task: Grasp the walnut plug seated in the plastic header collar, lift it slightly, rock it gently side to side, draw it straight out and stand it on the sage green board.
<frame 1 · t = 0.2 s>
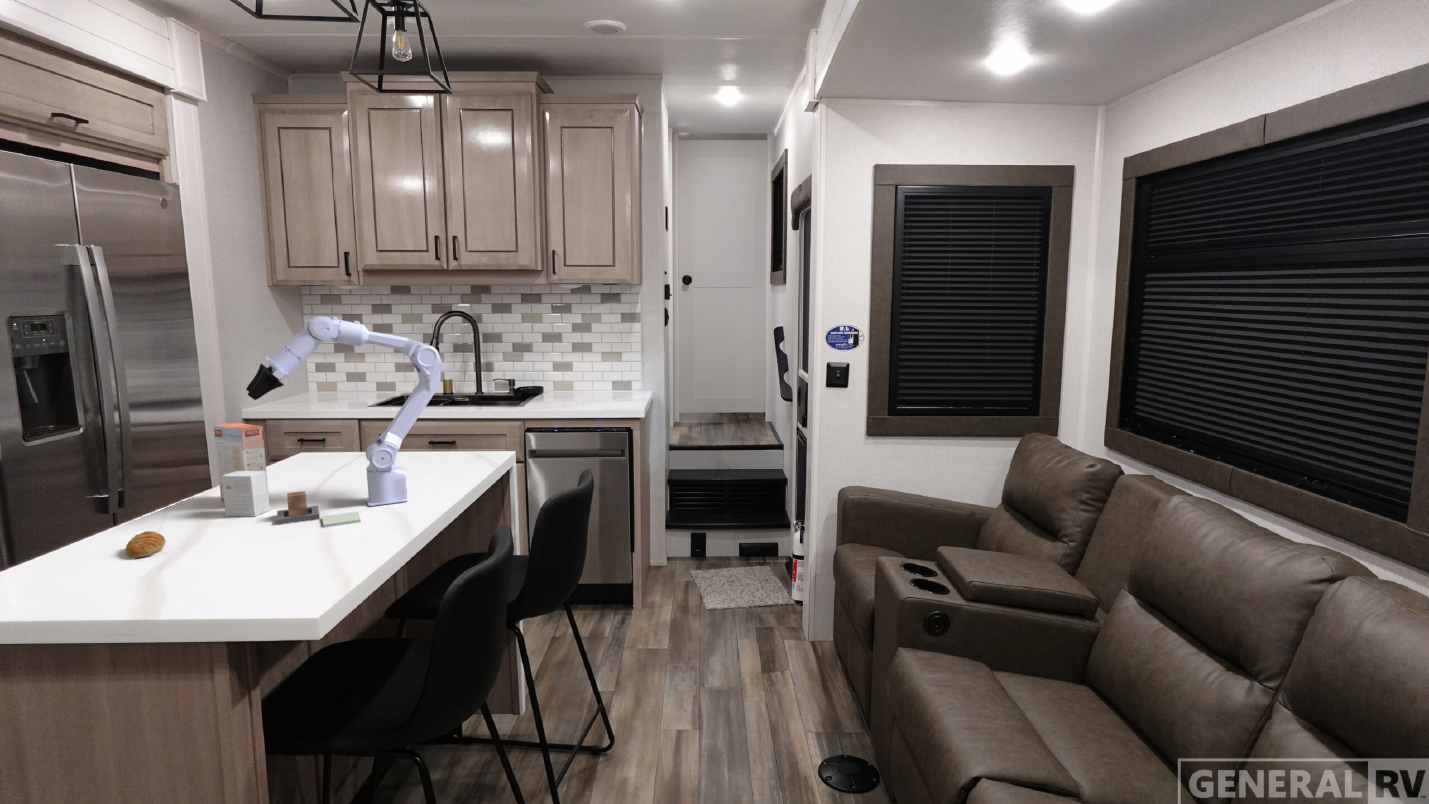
hand: (250, 394, 181), 31 cm above the table, tool tilted 45°, fingers open, 7 cm apart
pastry: (147, 552, 161), on the table
header collar: (298, 517, 185), on the table
small box: (248, 514, 189), on the table
cracker box: (245, 502, 200), on the table
sage green board: (341, 520, 182), on the table
walnut plug: (297, 505, 185), in the header collar
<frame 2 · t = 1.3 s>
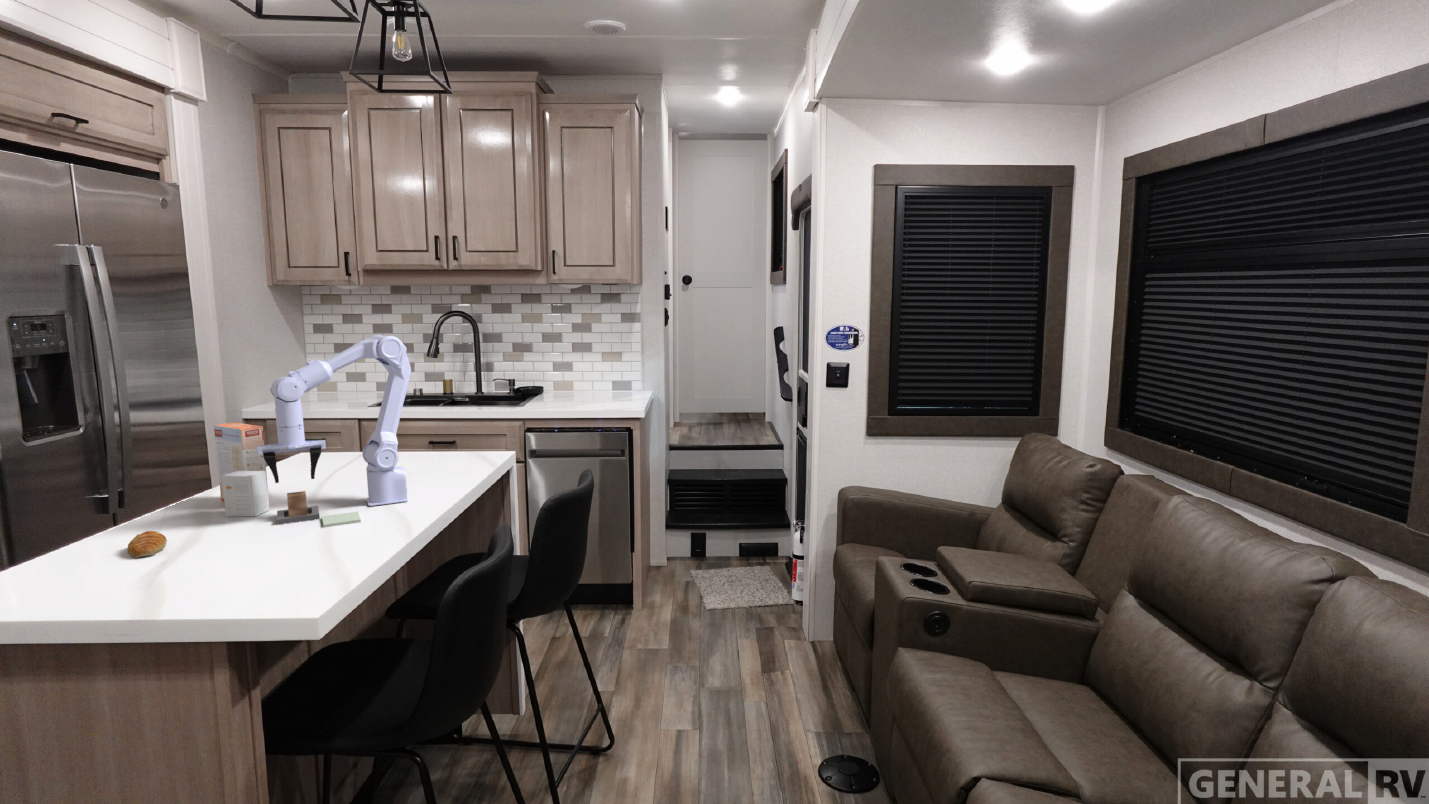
hand: (295, 480, 184), 9 cm above the table, tool pointing down, fingers open, 7 cm apart
nothing on the table moved.
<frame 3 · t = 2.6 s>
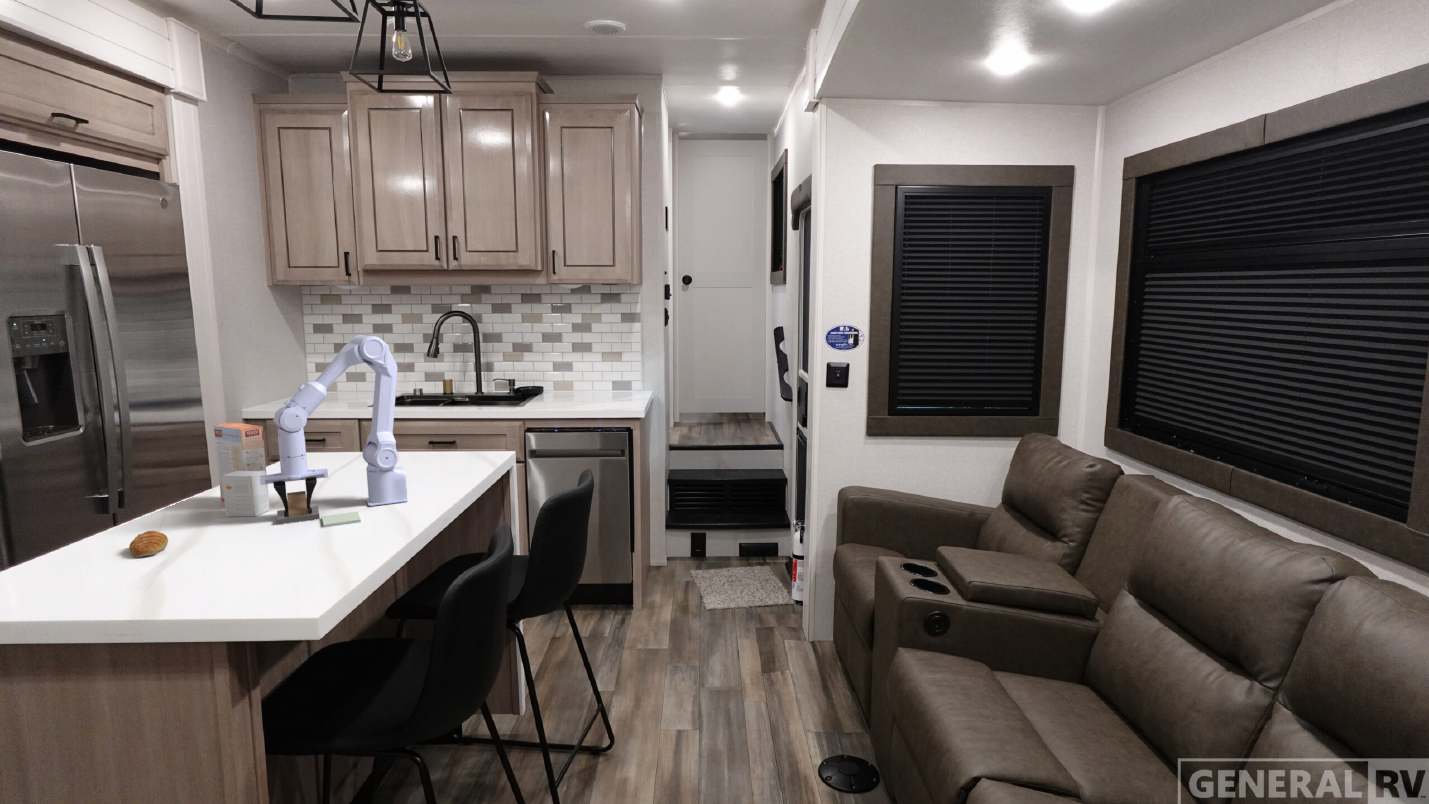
hand: (297, 509, 185), 2 cm above the table, tool pointing down, fingers closed on walnut plug, 4 cm apart
walnut plug: (297, 505, 185), in the header collar, touching gripper
everything else where it was.
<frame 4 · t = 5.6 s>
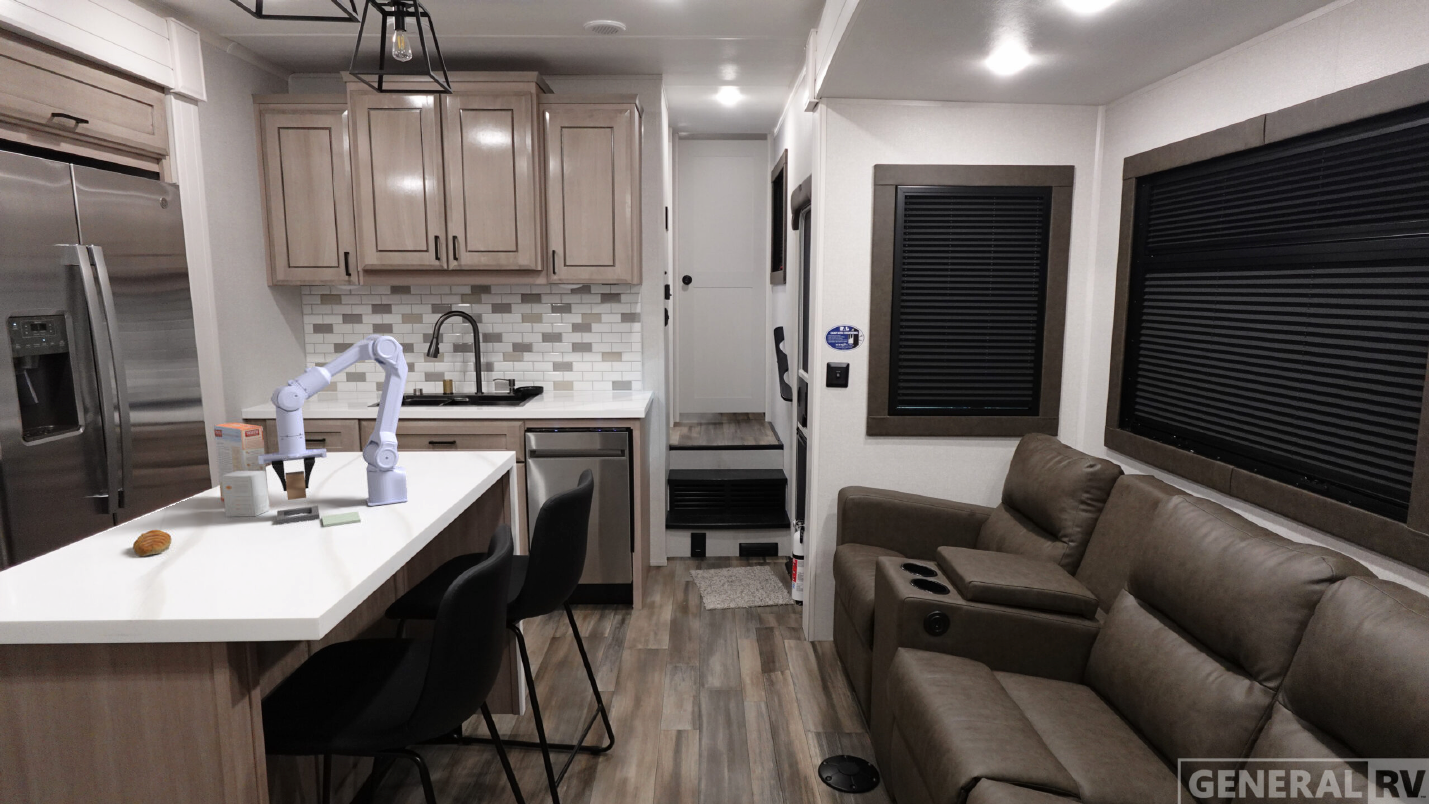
hand: (296, 488, 184), 7 cm above the table, tool pointing down, fingers closed on walnut plug, 4 cm apart
walnut plug: (295, 485, 184), point 8 cm above the table, touching gripper
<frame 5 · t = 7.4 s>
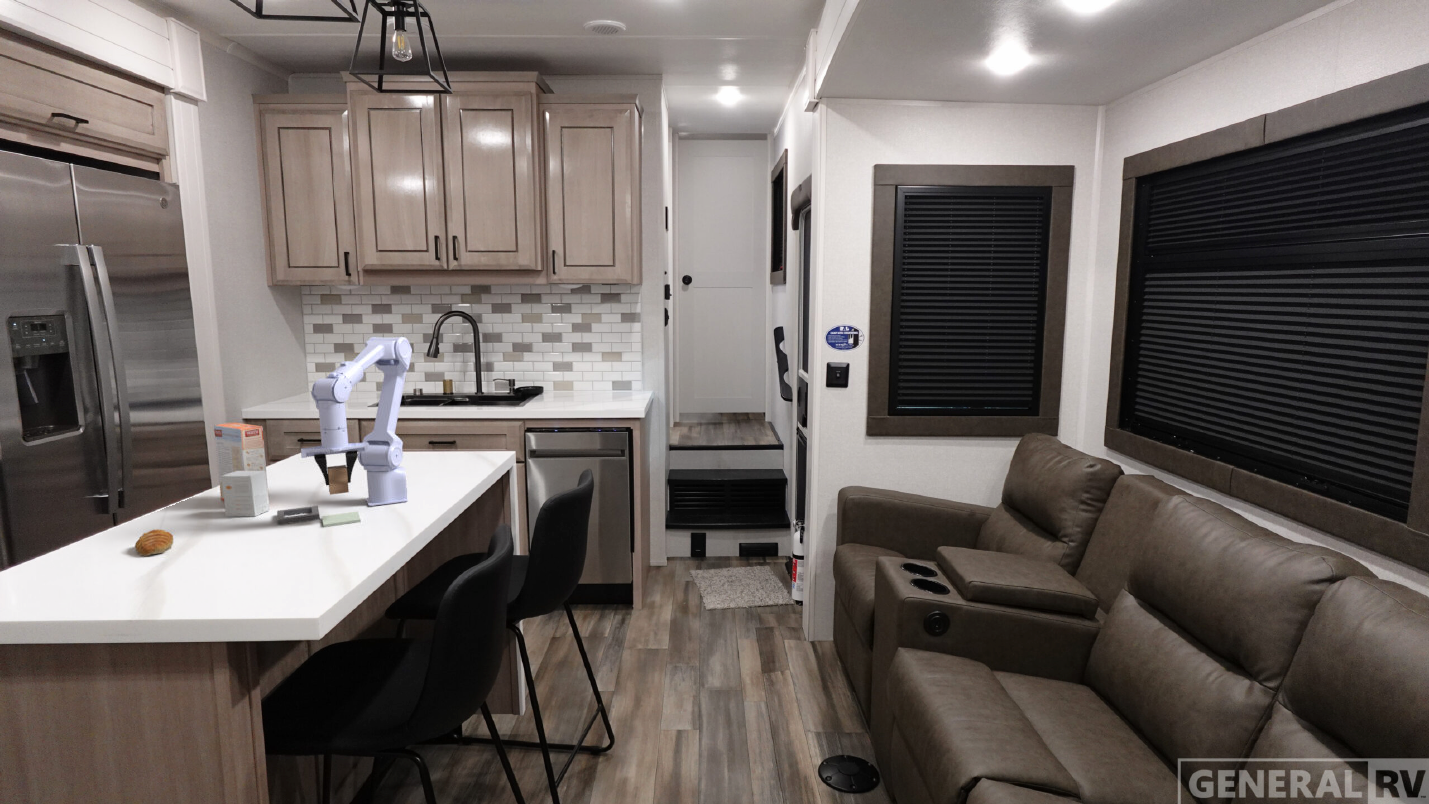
hand: (338, 483, 181), 9 cm above the table, tool pointing down, fingers closed on walnut plug, 4 cm apart
walnut plug: (337, 479, 181), point 10 cm above the table, touching gripper
when the fingers open (4 cm above the table, at t = 8.9 s): walnut plug drops 1 cm, resting on sage green board.
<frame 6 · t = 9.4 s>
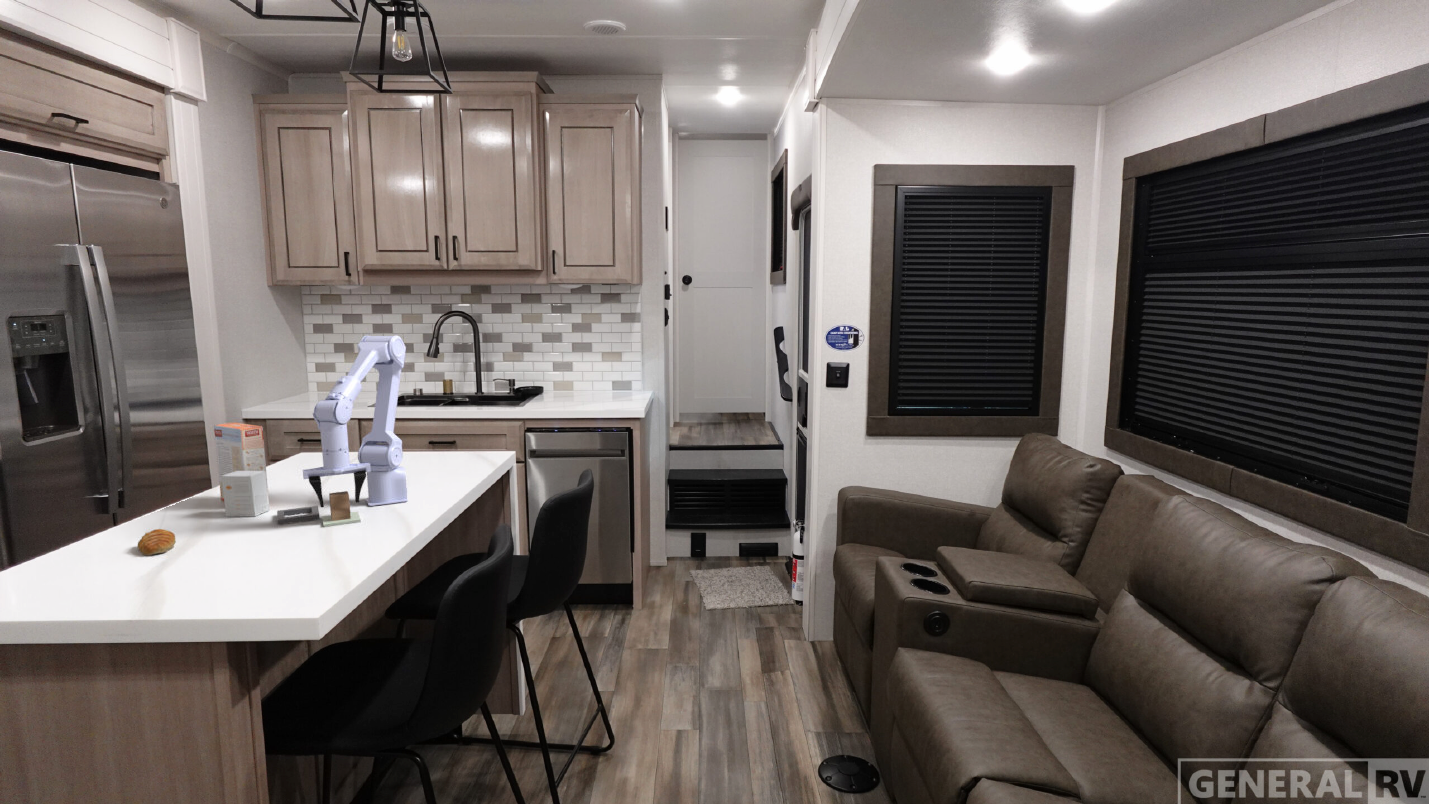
hand: (339, 503, 182), 4 cm above the table, tool pointing down, fingers open, 7 cm apart
walnut plug: (339, 505, 182), on the sage green board, point 4 cm above the table
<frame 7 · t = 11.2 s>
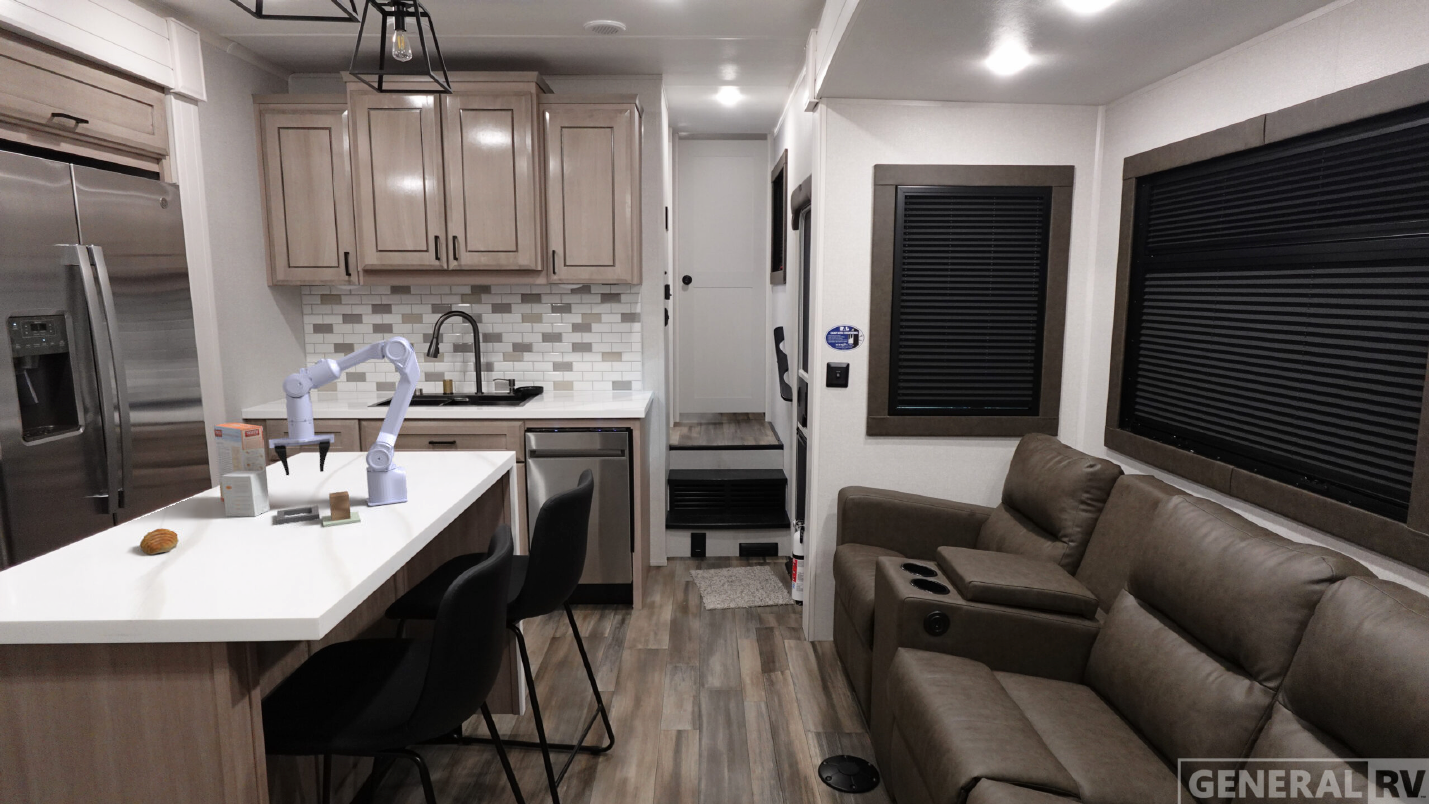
hand: (304, 472, 192), 9 cm above the table, tool pointing down, fingers open, 7 cm apart
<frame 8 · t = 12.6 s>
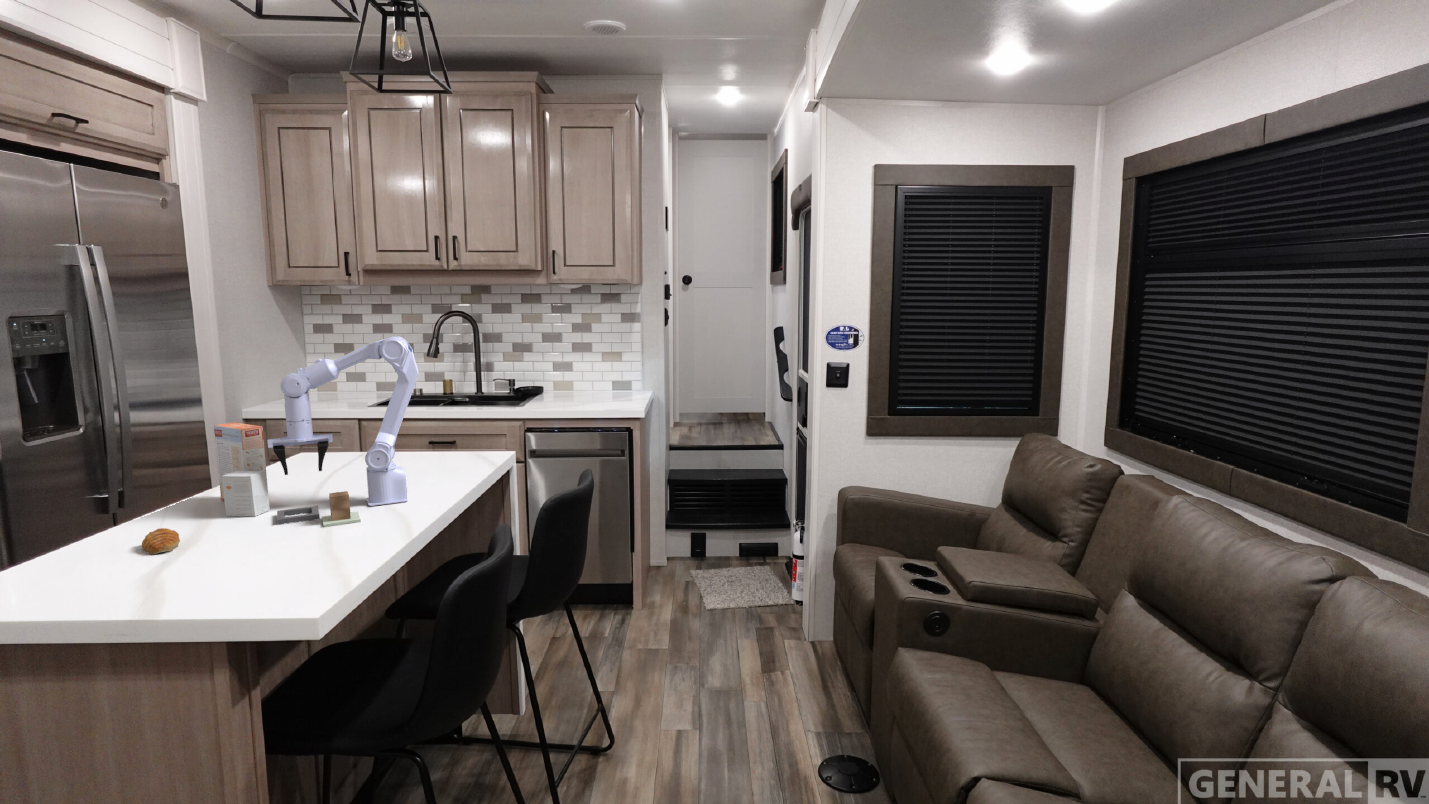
hand: (303, 472, 192), 9 cm above the table, tool pointing down, fingers open, 7 cm apart
at the end: walnut plug 0.0 cm off-centre on the sage green board, point 3.6 cm above the sage green board's base; walnut plug tilted 0°; the gripper is holding nothing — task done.
